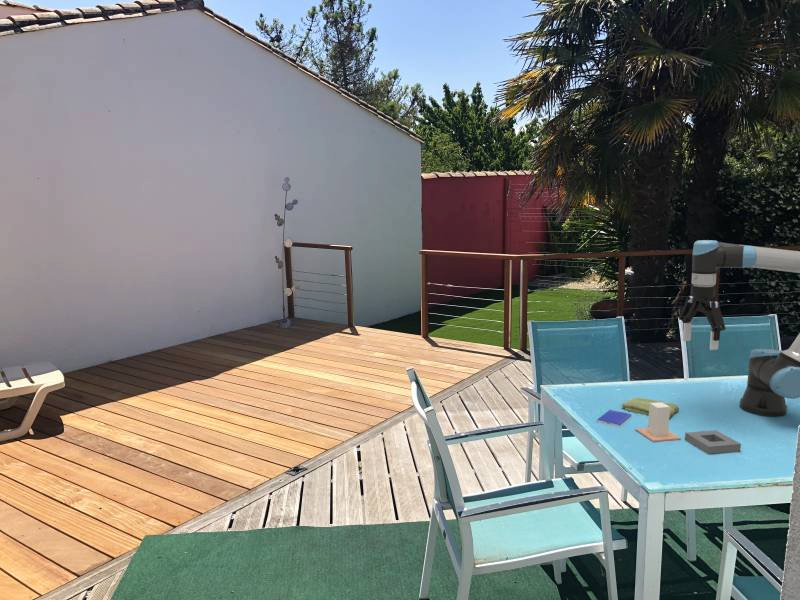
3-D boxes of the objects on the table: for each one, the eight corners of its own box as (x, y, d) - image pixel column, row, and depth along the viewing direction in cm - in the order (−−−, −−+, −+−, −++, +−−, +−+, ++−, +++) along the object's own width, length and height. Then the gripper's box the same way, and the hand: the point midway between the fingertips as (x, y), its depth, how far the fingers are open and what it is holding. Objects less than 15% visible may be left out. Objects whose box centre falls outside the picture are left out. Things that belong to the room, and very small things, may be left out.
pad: (661, 428, 206) (662, 426, 206) (680, 439, 196) (680, 438, 196) (635, 430, 204) (635, 428, 204) (653, 442, 195) (653, 440, 195)
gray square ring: (715, 437, 198) (715, 430, 198) (740, 451, 188) (741, 443, 187) (684, 439, 196) (685, 432, 196) (708, 454, 185) (709, 446, 185)
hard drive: (609, 409, 222) (596, 419, 212) (631, 414, 217) (619, 424, 207) (609, 413, 222) (596, 423, 213) (631, 418, 217) (619, 428, 208)
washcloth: (632, 401, 234) (633, 393, 234) (680, 412, 223) (680, 403, 222) (619, 410, 225) (620, 402, 224) (668, 422, 213) (669, 413, 213)
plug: (659, 430, 203) (661, 402, 201) (667, 435, 199) (670, 406, 197) (647, 431, 202) (649, 403, 200) (655, 436, 198) (657, 407, 196)
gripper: (670, 281, 217) (667, 337, 221) (720, 291, 193) (716, 354, 197) (688, 280, 219) (685, 336, 222) (740, 289, 195) (735, 352, 198)
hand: (699, 344), depth 210 cm, fingers open, 13 cm apart
